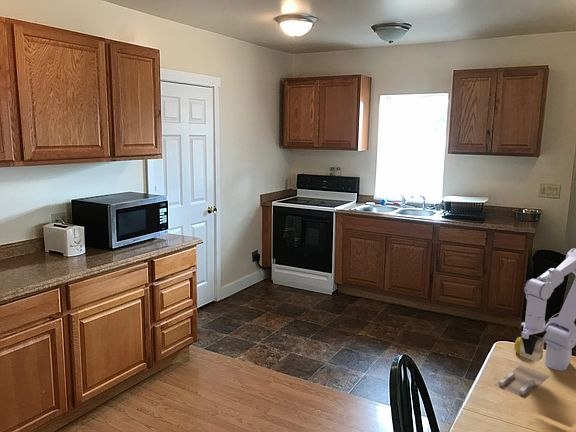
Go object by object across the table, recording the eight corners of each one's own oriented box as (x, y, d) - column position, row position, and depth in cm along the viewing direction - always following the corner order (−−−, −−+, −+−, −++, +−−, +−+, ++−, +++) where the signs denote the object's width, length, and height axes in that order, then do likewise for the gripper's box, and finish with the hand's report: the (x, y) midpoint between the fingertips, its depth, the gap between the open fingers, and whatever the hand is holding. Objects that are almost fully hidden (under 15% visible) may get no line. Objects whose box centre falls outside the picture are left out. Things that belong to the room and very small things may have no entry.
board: (520, 367, 172) (520, 361, 171) (549, 379, 165) (550, 371, 164) (494, 388, 159) (494, 380, 158) (524, 401, 152) (525, 393, 151)
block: (524, 351, 167) (526, 333, 165) (542, 358, 162) (544, 339, 161) (519, 355, 164) (521, 336, 163) (537, 361, 160) (539, 342, 158)
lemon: (531, 360, 177) (533, 340, 176) (515, 358, 178) (517, 339, 177) (527, 353, 183) (529, 333, 181) (511, 351, 184) (513, 332, 182)
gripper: (532, 305, 168) (528, 341, 171) (513, 316, 158) (510, 354, 161) (553, 311, 163) (549, 348, 165) (536, 323, 153) (531, 361, 156)
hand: (531, 351), depth 163 cm, fingers closed on block, 4 cm apart
